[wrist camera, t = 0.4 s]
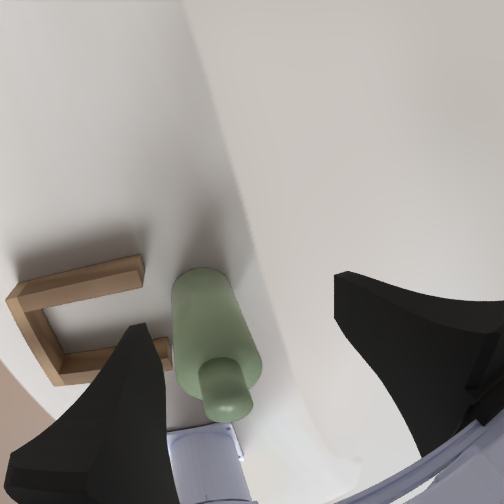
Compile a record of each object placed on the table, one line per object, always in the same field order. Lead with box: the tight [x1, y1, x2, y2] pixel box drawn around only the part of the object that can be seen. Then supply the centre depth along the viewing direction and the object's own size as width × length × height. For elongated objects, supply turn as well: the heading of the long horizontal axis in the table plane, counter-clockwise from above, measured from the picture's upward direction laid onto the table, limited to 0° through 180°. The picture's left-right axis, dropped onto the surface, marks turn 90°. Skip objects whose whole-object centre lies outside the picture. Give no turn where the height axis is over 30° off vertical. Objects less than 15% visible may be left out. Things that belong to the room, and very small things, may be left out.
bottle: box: [171, 268, 262, 423], centre depth 17 cm, size 4×4×10 cm
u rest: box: [5, 254, 173, 386], centre depth 19 cm, size 8×10×2 cm
